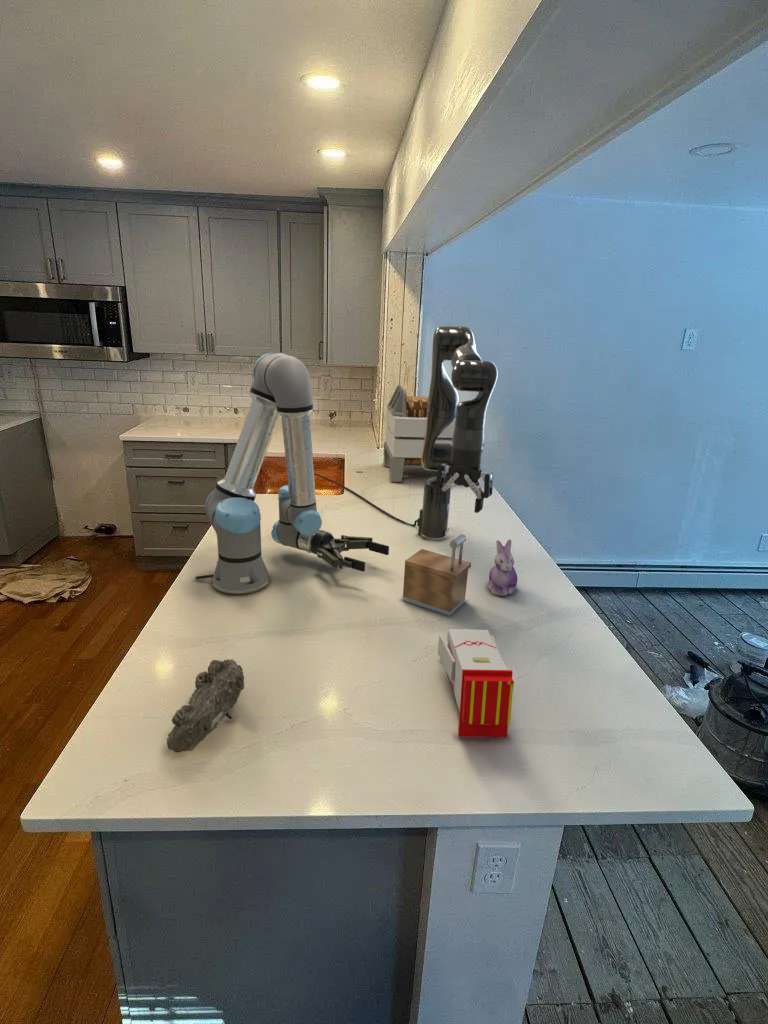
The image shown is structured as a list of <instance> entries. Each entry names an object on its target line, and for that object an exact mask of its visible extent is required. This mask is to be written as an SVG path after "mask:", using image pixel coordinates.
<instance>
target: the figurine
mask: <svg viewBox="0 0 768 1024" xmlns="http://www.w3.org/2000/svg"><path fill="white" fill-rule="evenodd" d="M495 544H496V554H495V555H496V556H495V558H494V566H492V568H490V570H489V573H488V581H487V582H488V583H487V588H488V589H489V591H491V593H492V594H493V595H495V596H500V597H505V596H508V595H512V594H513V593H514V592H515V590H516V587H517V584H518V574H517V571H516V568H515V567H514V565H515V559H514V556H513V553H512V544H513V543H512V539H510V538H509V539H508V540H507V541H506V543H505V544H504V546H503V544H502V542H501V541H500V540H496V542H495Z"/></svg>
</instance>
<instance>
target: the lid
mask: <svg viewBox="0 0 768 1024" xmlns="http://www.w3.org/2000/svg"><path fill="white" fill-rule="evenodd" d="M467 537H468V536H466V534H463V533H461V534H459V535H458V536H457V537H455V538H454V539H452V540H451V541H450V543H449V547H450V549H451V556H449V555H445V554H442V553H438V552H434V551H431V550H427V549H424V548H421V549H419V550H418V551H417V552H414V554H412V555H411V556H410V557H408V558H406V559H405V560H404V566H405V565H408V566H411V567H415V568H418V569H421V570H425V571H428V572H431V573H435V574H438V575H442V576H445V577H448V578H452V579H455V580H456V579H458V578H459V577H460V576H461V575H462V574H463V573H465V572H466V571H467V570H468V571H469V569H470V568H472V562H470V561H467V560H463V553H464V543H465V542H467V540H468V538H467ZM458 547H459V553H458V558H456V549H458Z"/></svg>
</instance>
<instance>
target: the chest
mask: <svg viewBox="0 0 768 1024" xmlns="http://www.w3.org/2000/svg"><path fill="white" fill-rule="evenodd" d="M403 572H404V573H403V575H404V576H403V590H402V601H404V602H407V603H410V604H413V605H416V606H419V607H422V608H425V609H428V610H431V611H433V612H436V613H440V614H443V615H446V616H449V617H450V616H451V615H453V614H454V613H455V612H456V611H457V610H458V609H459V608H460V607H461V606H462V605H463V604H464V603H465V602H466V594H467V584H468V577H469V575H468V574H469V569H468V570H467V571H466V572H465V573H463V574H462V575H461V576H460V577H459V578H458V579H456V580H455V579H452V578H448V577H445V576H442V575H438V574H435V573H431V572H428V571H425V570H421V569H418V568H415V567H411V566H408V565H405V564H404V571H403Z"/></svg>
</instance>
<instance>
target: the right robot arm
mask: <svg viewBox="0 0 768 1024" xmlns="http://www.w3.org/2000/svg"><path fill="white" fill-rule="evenodd" d="M432 337H433V338H432V353H431V374H430V375H431V377H430V385H429V392H428V397H429V398H428V407H427V422H426V432H425V438H424V444H423V449H422V457H421V462H422V466H421V467H422V468H423V470H426V471H435V472H436V471H437V473H436V475H435V476H432V477H429V478H427V479H425V480H424V482H423V493H422V496H423V497H422V506H421V508H420V509H419V516H418V518H417V519H416V520H415V521H414V523H413V524H411V523H408V522H407V521H404V520H402V519H400V518H398V517H396V516H394V515H392V514H391V513H389V512H387V511H385V510H384V509H382V508H380V507H379V506H377V505H376V504H374V503H372V502H371V501H369V500H368V499H366V498H365V497H364V496H362V495H360V494H358V493H357V492H356V491H353V490H352V489H350V488H349V487H347V486H345V485H343V484H341V483H339V482H338V481H337V482H336V481H334V480H333V479H330V478H328V477H326V476H323V475H321V474H318V473H316V472H314V476H316V477H319V478H322V479H324V480H327V481H329V482H331V483H333V484H335V485H337V486H339V487H341V488H343V489H345V490H347V491H349V492H350V493H352V494H353V495H355V496H357V497H358V498H360V499H362V500H363V501H365V502H366V503H367V504H369V505H371V506H372V507H374V508H375V509H377V510H378V511H380V512H381V513H383V514H385V515H387V516H388V517H390V518H392V519H394V520H395V521H398V522H400V523H402V524H404V525H408V526H411V527H416V526H417V527H418V530H417V535H418V536H420V538H421V539H424V540H426V541H432V542H440V541H444V540H446V539H447V538H448V533H449V532H450V531H449V530H450V527H448V525H449V517H450V516H449V514H450V504H451V494H452V493H451V491H452V487H453V486H454V485H456V486H460V487H461V486H463V487H465V488H470V490H471V491H472V493H474V495H475V497H476V498H475V500H474V501H475V502H474V510H473V511H474V513H475V514H478V513H480V512H481V511H482V510H483V508H484V500H485V499H488V498H489V497H491V496H492V495H493V484H494V473H493V472H491V471H489V472H483V471H482V464H483V463H482V461H483V453H484V446H485V423H486V414H487V408H488V405H489V402H490V399H491V396H492V394H493V392H494V389H495V387H496V383H497V380H498V376H499V375H498V374H499V373H498V372H499V371H498V368H497V366H496V364H495V363H494V362H493V361H489V360H482V358H481V356H480V355H479V353H478V352H477V345H476V341H475V336H474V333H473V331H472V329H471V328H470V327H468V326H462V325H461V326H460V325H459V326H457V325H442V326H438V327H436V328H435V330H434V333H433V336H432ZM445 361H450V363H451V367H452V370H451V375H450V376H451V377H449V375H448V373H447V370H446V369H445V366H444V362H445ZM458 391H460V392H470V393H471V392H472V393H473V392H475V393H478V394H477V395H475V397H474V398H472V399H468V400H463V401H459V400H460V399H459V398H460V396H459V393H458ZM458 402H459V403H458ZM454 419H455V428H454V432H453V440H452V444H447V443H435V441H436V439H437V438H438V436H439V435H440V434H441V433H442V432H443V431H444V430H445V429H446V428H447V427H448V426H449V425H450V424H451V423H452V422H453V420H454ZM479 479H482V481H483V482H484V483H483V486H482V484H481V481H480V480H479Z"/></svg>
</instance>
